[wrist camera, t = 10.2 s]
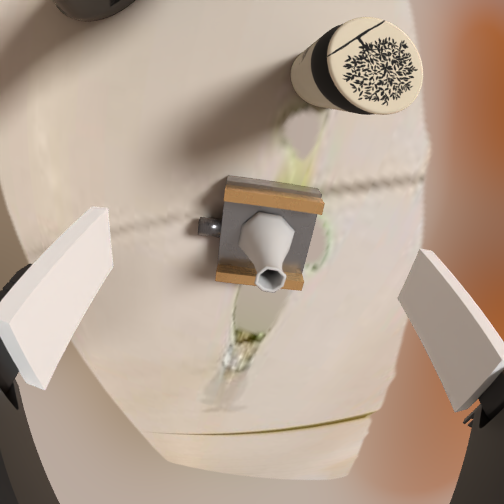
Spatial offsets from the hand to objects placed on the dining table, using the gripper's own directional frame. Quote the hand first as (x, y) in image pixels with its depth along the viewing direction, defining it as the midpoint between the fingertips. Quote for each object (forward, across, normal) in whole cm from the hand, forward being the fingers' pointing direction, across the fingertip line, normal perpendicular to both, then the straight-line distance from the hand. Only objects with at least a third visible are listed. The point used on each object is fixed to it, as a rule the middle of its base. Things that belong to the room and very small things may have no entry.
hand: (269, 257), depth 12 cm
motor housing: (+28, +2, -12) cm, 30 cm away
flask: (+26, +3, -12) cm, 28 cm away
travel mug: (+28, +7, +10) cm, 31 cm away
